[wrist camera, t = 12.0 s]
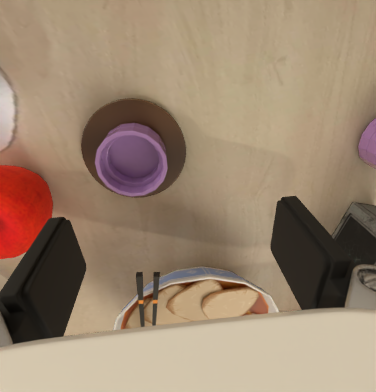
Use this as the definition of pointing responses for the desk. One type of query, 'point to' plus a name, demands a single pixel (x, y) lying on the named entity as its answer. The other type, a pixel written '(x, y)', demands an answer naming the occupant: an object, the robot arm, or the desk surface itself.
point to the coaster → (140, 114)
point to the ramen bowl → (193, 298)
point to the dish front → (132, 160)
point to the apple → (21, 209)
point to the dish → (368, 145)
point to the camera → (358, 233)
